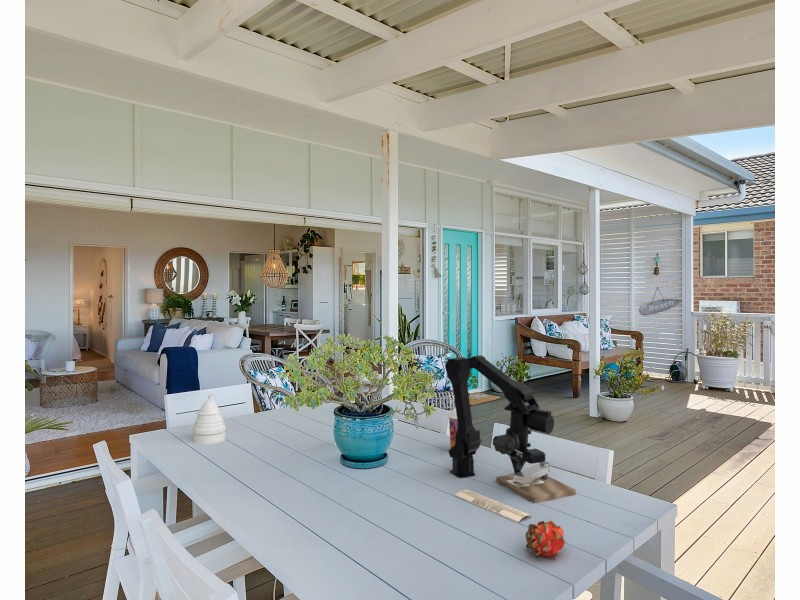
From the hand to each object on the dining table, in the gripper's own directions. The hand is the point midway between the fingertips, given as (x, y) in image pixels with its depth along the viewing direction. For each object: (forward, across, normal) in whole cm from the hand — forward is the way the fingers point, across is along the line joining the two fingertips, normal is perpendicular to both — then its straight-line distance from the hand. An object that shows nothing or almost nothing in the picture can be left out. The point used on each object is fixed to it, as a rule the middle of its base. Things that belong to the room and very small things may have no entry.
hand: (516, 475), depth 163 cm
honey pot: (+10, -100, -78) cm, 127 cm away
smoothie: (+7, -40, +6) cm, 41 cm away
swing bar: (+1, +2, +5) cm, 6 cm away
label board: (+4, +2, +6) cm, 8 cm away
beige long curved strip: (+5, +7, -15) cm, 17 cm away
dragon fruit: (+3, +34, -20) cm, 40 cm away
